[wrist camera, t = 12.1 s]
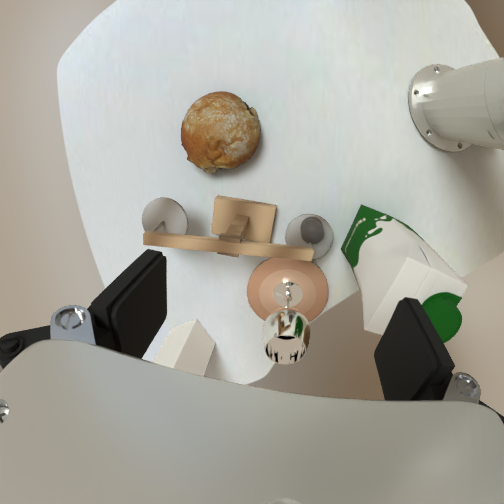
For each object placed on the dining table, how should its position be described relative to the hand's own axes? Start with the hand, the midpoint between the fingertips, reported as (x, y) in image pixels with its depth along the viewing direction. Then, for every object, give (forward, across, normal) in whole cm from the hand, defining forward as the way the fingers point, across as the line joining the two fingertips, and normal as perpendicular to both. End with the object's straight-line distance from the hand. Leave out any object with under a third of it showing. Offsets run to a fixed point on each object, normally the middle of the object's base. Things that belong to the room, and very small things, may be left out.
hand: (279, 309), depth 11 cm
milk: (+28, +11, +29) cm, 42 cm away
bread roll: (+29, +10, -5) cm, 31 cm away
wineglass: (+27, -3, +16) cm, 32 cm away
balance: (+28, +5, +6) cm, 29 cm away
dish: (+28, -3, +16) cm, 33 cm away
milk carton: (+28, -13, +5) cm, 32 cm away
